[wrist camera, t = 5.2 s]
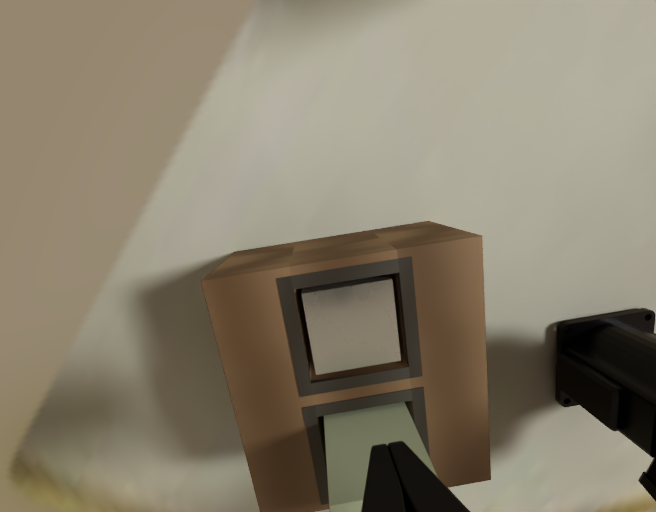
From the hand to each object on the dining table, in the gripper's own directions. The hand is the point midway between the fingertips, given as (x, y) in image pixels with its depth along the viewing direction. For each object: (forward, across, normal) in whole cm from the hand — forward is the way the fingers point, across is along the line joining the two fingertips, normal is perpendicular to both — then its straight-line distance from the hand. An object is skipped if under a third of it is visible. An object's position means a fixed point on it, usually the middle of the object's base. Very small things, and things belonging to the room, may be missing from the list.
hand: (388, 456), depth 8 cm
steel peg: (+12, 0, -1) cm, 12 cm away
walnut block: (+12, 0, +2) cm, 12 cm away
